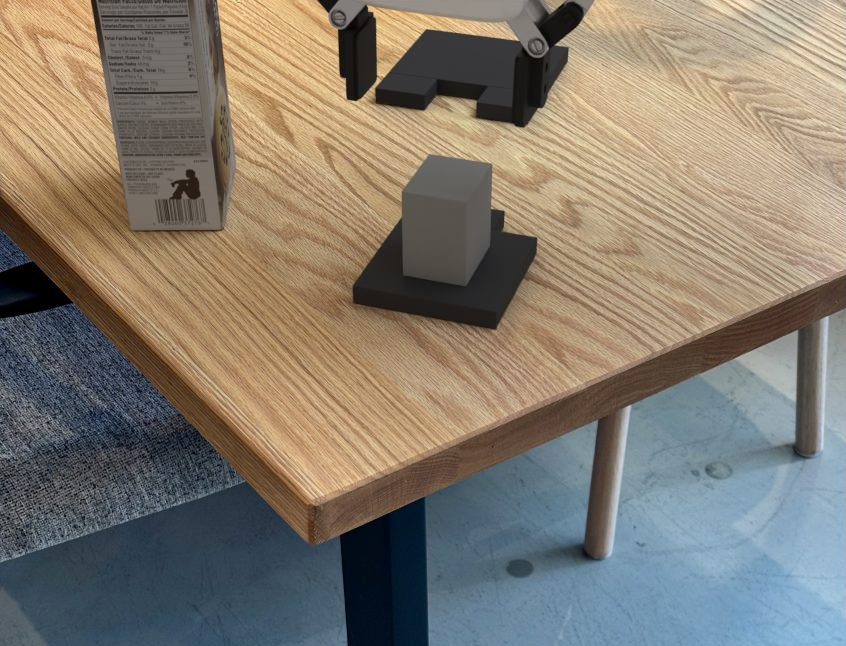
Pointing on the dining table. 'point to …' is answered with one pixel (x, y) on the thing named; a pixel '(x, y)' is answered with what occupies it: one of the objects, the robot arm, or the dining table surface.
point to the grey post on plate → (448, 249)
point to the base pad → (460, 72)
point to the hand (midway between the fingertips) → (442, 104)
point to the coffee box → (168, 110)
